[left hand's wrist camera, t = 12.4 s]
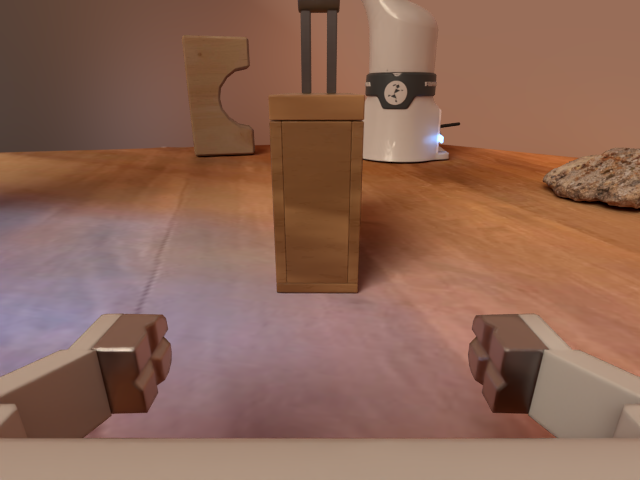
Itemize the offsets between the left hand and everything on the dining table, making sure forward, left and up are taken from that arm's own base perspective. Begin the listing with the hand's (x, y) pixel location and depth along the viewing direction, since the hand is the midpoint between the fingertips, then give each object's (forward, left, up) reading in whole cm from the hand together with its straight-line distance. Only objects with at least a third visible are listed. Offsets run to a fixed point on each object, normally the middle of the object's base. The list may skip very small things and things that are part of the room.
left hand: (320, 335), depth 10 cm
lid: (+18, +9, +5) cm, 20 cm away
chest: (+18, +8, -6) cm, 20 cm away
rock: (+46, -14, -6) cm, 49 cm away
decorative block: (+54, +46, -6) cm, 71 cm away
